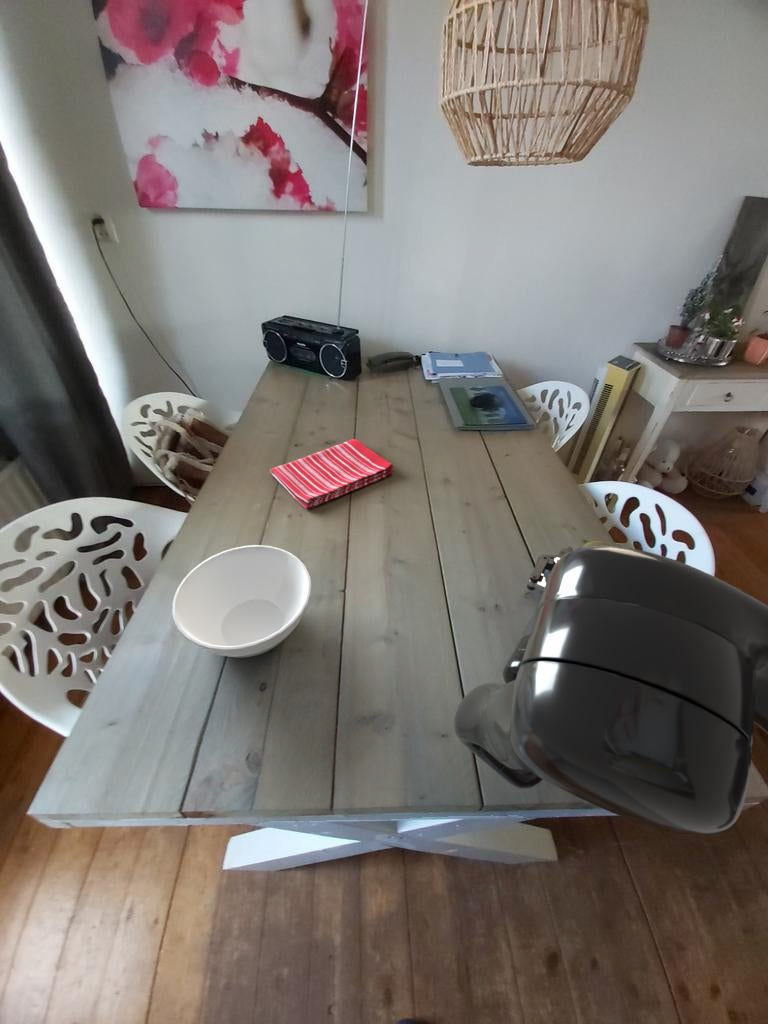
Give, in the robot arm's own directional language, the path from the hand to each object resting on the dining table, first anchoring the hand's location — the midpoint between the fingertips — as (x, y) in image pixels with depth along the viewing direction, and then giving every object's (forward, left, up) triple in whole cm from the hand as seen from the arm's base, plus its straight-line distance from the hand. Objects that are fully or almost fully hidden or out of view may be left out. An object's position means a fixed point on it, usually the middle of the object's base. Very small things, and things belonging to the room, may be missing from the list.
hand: (596, 563), depth 68 cm
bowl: (+32, +43, -10) cm, 54 cm away
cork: (0, -1, -9) cm, 9 cm away
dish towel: (+57, +8, -10) cm, 58 cm away
